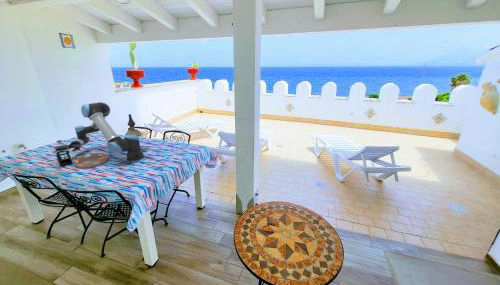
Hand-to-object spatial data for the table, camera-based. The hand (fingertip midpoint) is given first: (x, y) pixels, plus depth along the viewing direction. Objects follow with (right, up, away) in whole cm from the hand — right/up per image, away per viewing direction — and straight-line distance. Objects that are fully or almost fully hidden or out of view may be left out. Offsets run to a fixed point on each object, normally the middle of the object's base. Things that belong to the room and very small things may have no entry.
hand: (61, 152), depth 181 cm
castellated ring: (+21, -10, +9) cm, 25 cm away
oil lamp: (+46, 0, +39) cm, 60 cm away
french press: (0, -12, +5) cm, 13 cm away
